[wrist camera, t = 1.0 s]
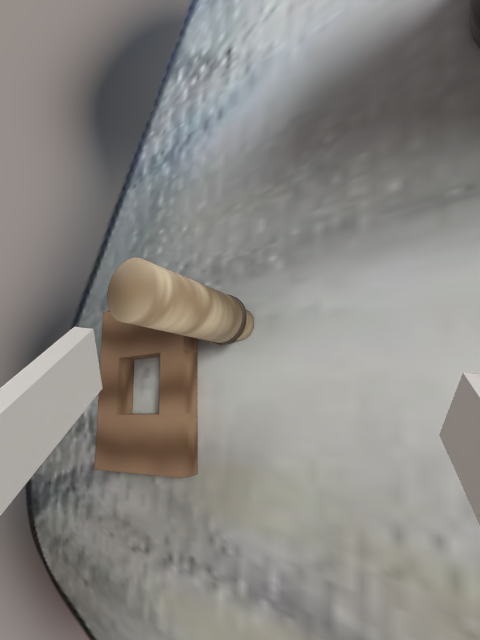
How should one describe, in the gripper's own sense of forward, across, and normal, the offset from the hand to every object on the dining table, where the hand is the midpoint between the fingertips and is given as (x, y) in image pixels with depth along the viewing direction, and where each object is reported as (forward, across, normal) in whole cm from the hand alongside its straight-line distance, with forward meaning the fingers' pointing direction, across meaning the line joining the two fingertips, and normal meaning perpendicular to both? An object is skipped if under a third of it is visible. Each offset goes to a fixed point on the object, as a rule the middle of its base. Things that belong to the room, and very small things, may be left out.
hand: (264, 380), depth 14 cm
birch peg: (+25, -4, -11) cm, 28 cm away
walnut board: (+25, -15, -21) cm, 36 cm away
